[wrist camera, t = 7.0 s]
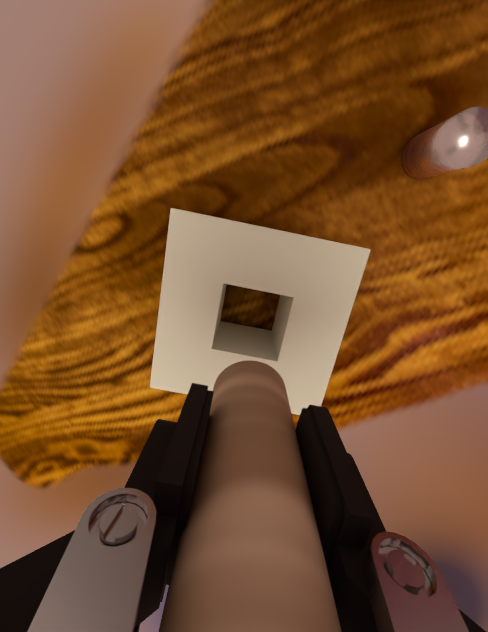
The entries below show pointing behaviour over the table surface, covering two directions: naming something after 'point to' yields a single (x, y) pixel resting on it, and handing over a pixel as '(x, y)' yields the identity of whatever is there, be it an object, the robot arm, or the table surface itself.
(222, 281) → the hole block
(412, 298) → the table surface
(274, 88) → the table surface
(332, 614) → the birch pin
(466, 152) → the steel stub
